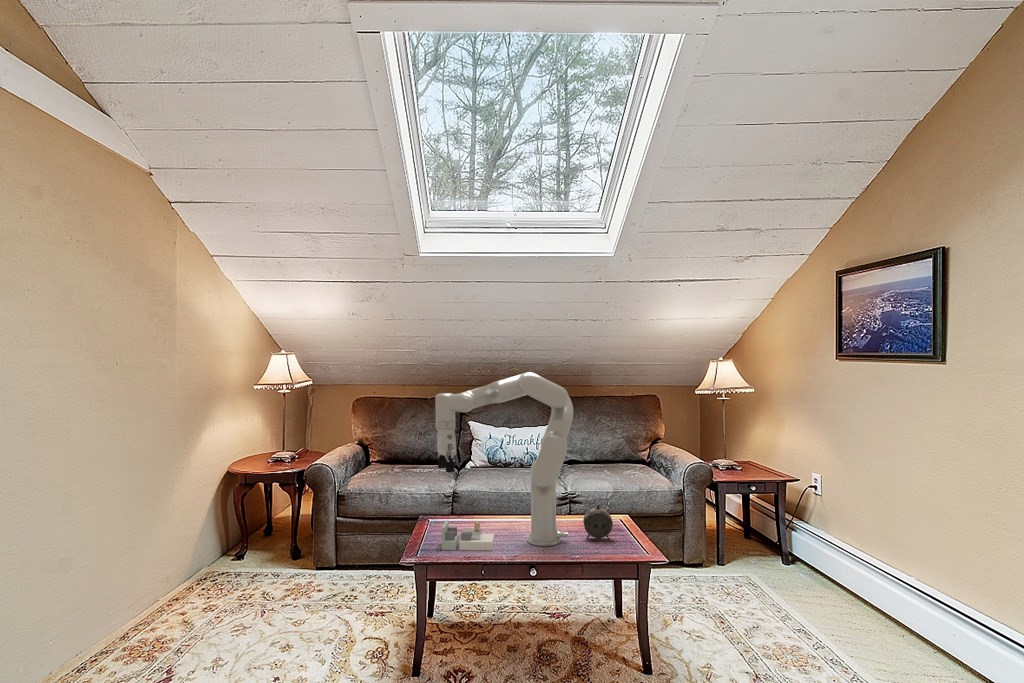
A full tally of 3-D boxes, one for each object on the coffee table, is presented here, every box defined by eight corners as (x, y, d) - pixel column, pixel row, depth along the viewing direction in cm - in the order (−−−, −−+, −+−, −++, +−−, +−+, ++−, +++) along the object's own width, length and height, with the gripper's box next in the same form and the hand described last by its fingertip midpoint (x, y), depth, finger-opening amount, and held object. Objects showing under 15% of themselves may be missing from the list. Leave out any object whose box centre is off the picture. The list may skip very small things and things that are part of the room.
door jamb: (459, 541, 214) (458, 520, 215) (455, 550, 204) (455, 528, 205) (446, 541, 215) (446, 520, 215) (441, 550, 205) (441, 527, 205)
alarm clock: (611, 538, 218) (611, 496, 218) (613, 542, 212) (612, 499, 213) (583, 537, 218) (583, 495, 219) (584, 542, 213) (584, 499, 214)
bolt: (481, 535, 211) (481, 520, 211) (480, 538, 207) (480, 523, 207) (462, 535, 211) (462, 520, 212) (461, 538, 207) (461, 523, 208)
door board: (494, 541, 214) (494, 527, 214) (492, 550, 204) (492, 535, 204) (462, 541, 214) (462, 527, 215) (459, 550, 204) (459, 534, 205)
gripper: (462, 426, 210) (462, 472, 209) (447, 422, 225) (448, 465, 225) (443, 427, 206) (443, 474, 206) (429, 424, 222) (430, 467, 221)
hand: (446, 470), depth 215 cm, fingers open, 9 cm apart
